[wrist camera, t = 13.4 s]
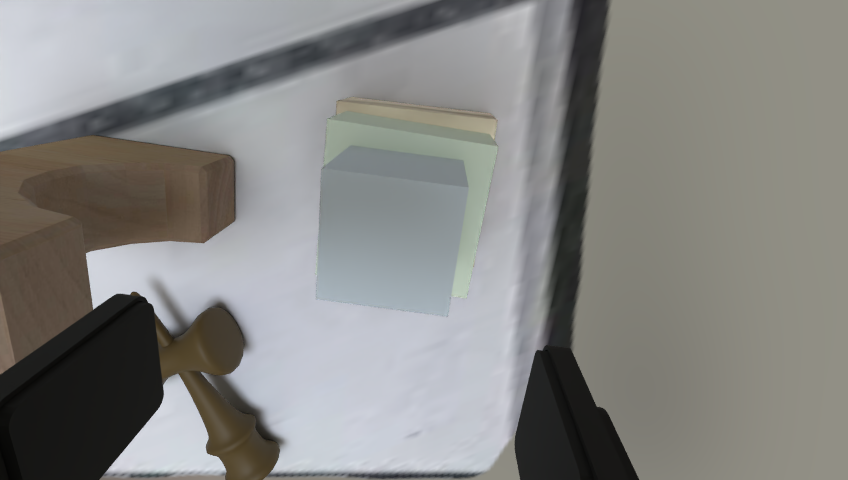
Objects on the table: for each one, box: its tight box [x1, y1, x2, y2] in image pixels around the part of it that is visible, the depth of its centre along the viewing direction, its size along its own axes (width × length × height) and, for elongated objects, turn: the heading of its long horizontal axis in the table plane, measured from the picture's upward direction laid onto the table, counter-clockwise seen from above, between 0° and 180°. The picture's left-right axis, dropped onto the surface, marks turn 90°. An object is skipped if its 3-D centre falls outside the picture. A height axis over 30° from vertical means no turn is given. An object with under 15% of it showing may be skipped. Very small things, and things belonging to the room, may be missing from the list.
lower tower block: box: [336, 97, 498, 267], centre depth 32 cm, size 10×10×5 cm
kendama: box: [131, 292, 280, 480], centre depth 39 cm, size 6×10×20 cm
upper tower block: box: [315, 111, 498, 298], centre depth 27 cm, size 9×9×5 cm
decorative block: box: [0, 135, 234, 374], centre depth 26 cm, size 11×6×20 cm, turn 81°
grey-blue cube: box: [316, 145, 469, 317], centre depth 22 cm, size 6×6×6 cm
